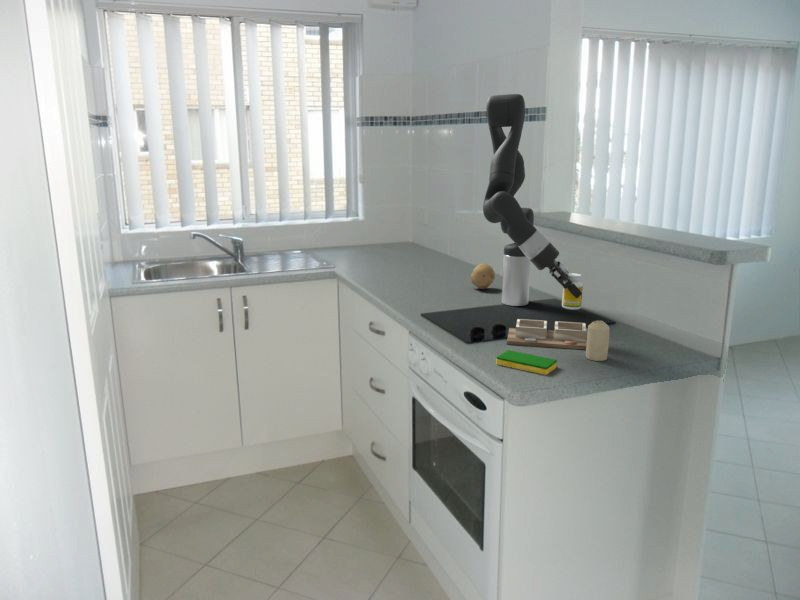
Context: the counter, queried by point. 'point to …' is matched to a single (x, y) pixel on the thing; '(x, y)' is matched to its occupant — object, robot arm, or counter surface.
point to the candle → (597, 341)
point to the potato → (482, 276)
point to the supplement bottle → (568, 297)
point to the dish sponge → (526, 362)
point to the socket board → (548, 334)
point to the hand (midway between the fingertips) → (578, 293)
